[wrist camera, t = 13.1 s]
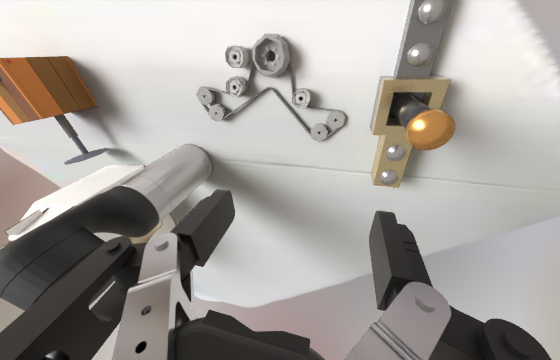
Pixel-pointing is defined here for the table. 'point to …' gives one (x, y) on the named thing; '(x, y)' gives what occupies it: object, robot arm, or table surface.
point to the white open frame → (78, 195)
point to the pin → (422, 122)
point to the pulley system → (267, 67)
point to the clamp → (44, 94)
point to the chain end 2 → (399, 126)
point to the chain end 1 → (419, 42)
